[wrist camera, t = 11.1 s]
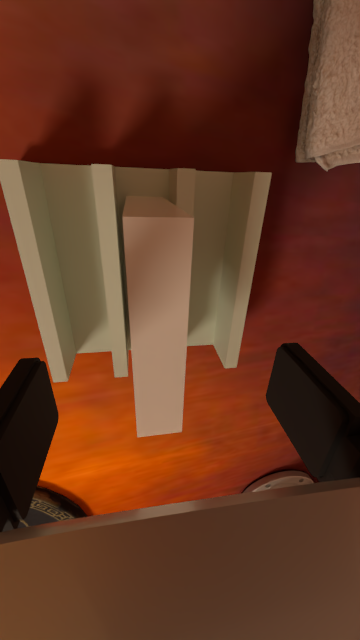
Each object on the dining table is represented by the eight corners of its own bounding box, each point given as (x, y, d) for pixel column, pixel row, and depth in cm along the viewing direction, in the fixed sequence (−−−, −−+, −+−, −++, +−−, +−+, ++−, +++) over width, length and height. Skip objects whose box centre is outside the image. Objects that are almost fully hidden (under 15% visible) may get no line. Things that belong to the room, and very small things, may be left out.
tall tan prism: (162, 196, 17) (194, 217, 9) (162, 334, 23) (181, 431, 14) (126, 196, 17) (122, 216, 8) (134, 336, 22) (137, 437, 14)
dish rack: (248, 173, 19) (280, 172, 15) (224, 337, 25) (242, 366, 21) (18, 162, 16) (-18, 158, 12) (60, 347, 23) (46, 383, 19)
